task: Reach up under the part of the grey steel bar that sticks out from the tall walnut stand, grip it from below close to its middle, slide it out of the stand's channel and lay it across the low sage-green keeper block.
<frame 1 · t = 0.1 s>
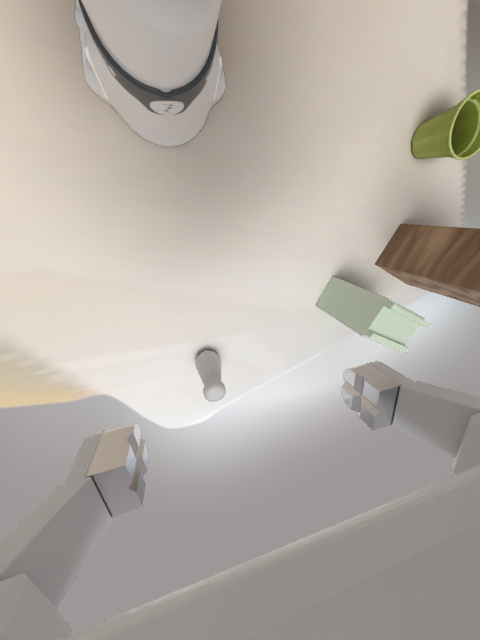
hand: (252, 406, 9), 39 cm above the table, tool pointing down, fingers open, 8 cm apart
keeper block: (340, 298, 57), on the table
walnut stand: (404, 256, 56), on the table
salt shaker: (206, 356, 54), on the table
plant pot: (422, 140, 45), on the table
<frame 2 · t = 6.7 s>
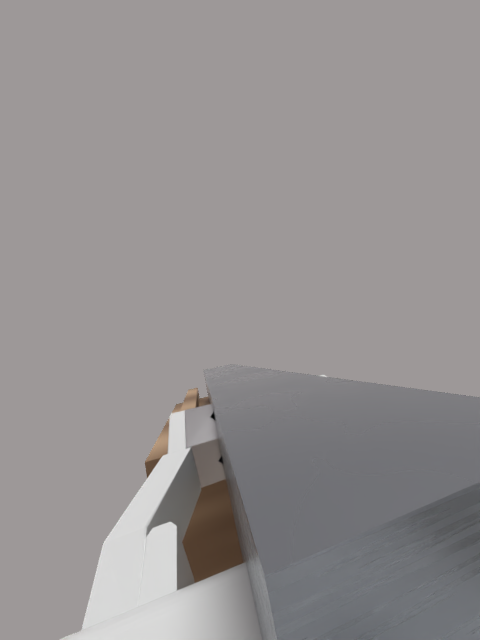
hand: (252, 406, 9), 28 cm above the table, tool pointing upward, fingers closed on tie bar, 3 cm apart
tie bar: (243, 428, 12), point 26 cm above the table, touching gripper, walnut stand
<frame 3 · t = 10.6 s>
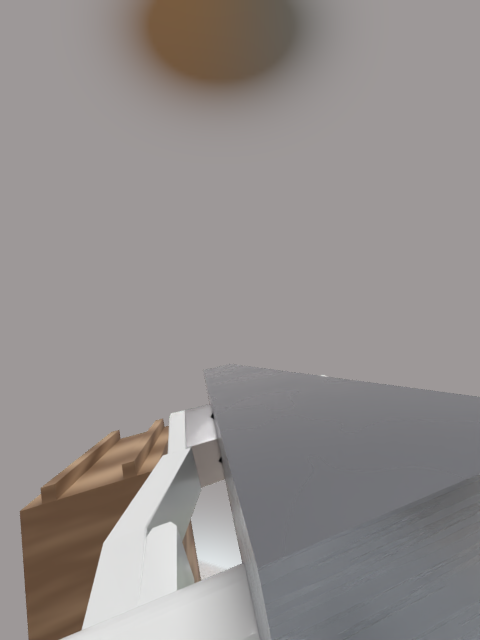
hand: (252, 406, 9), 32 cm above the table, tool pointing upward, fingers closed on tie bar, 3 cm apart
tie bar: (242, 427, 12), point 30 cm above the table, touching gripper
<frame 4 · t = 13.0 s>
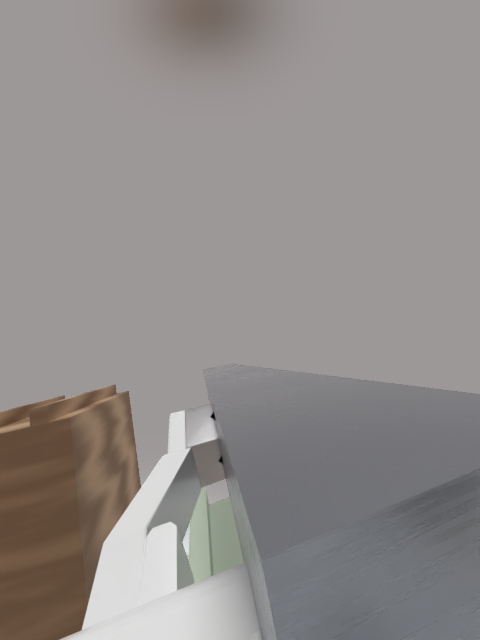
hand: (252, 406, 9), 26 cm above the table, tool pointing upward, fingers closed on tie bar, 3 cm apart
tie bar: (243, 427, 12), point 24 cm above the table, touching gripper
when the fingers open (19 cm above the table, at t = 14.8 s): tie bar drops 1 cm, resting on keeper block.
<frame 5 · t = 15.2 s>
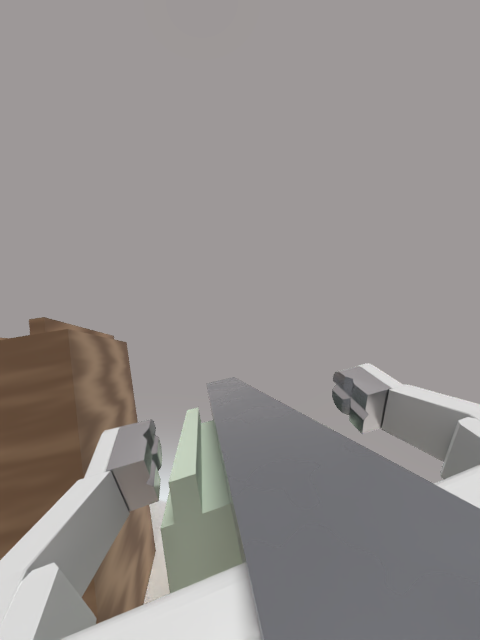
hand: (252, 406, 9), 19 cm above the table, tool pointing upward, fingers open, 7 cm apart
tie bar: (249, 456, 12), point 16 cm above the table, touching keeper block
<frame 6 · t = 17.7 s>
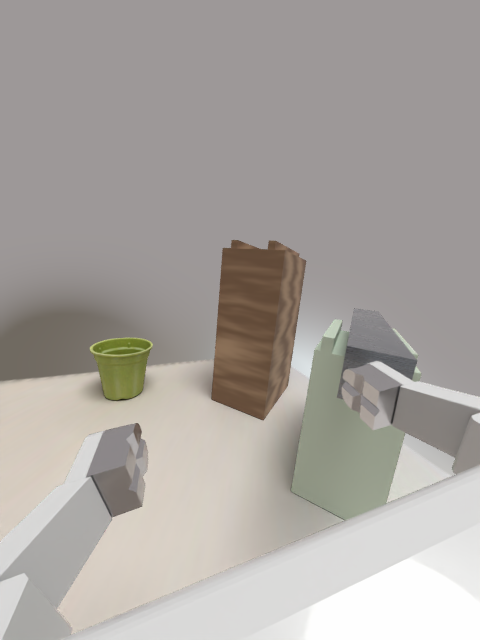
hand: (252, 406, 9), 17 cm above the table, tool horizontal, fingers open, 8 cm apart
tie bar: (363, 351, 22), point 16 cm above the table, touching keeper block
keeper block: (335, 468, 27), on the table
walnut stand: (253, 391, 43), on the table
plant pot: (123, 392, 39), on the table
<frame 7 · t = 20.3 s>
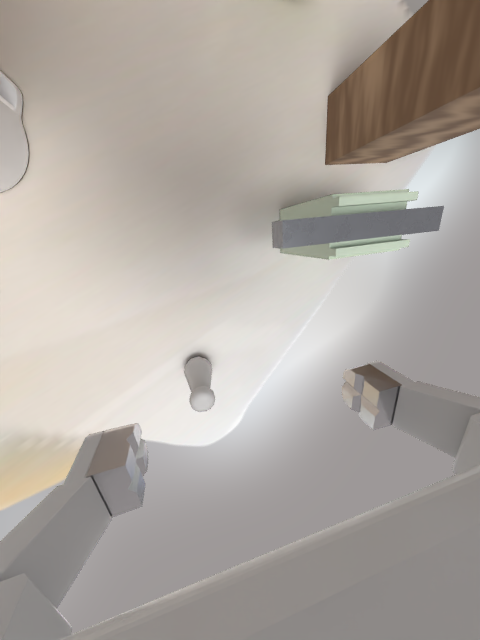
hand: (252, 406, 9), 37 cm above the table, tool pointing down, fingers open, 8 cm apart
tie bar: (351, 227, 30), point 16 cm above the table, touching keeper block
keeper block: (307, 229, 45), on the table
walnut stand: (359, 132, 41), on the table
salt shaker: (197, 363, 49), on the table
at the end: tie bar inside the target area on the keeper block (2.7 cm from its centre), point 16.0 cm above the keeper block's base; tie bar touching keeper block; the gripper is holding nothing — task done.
